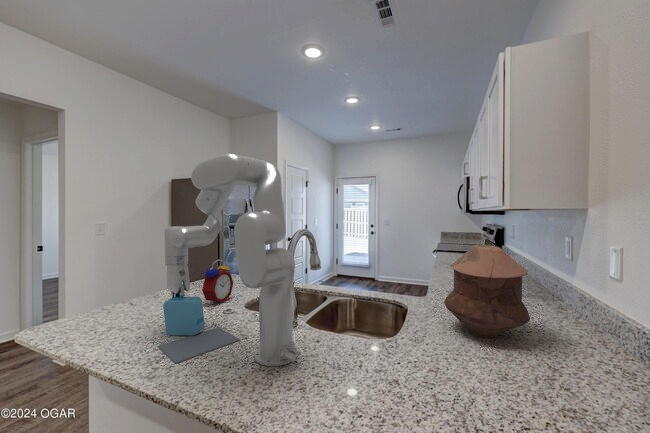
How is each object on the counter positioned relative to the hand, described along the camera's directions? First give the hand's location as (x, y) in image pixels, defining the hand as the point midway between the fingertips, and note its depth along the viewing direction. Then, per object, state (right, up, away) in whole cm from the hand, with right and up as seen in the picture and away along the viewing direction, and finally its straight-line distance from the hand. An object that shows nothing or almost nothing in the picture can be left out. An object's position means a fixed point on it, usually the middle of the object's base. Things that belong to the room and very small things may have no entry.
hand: (177, 310), depth 106 cm
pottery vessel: (+109, -6, -6) cm, 110 cm away
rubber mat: (+14, -7, -13) cm, 20 cm away
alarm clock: (+3, -6, +31) cm, 31 cm away
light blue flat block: (+5, -6, -5) cm, 9 cm away
